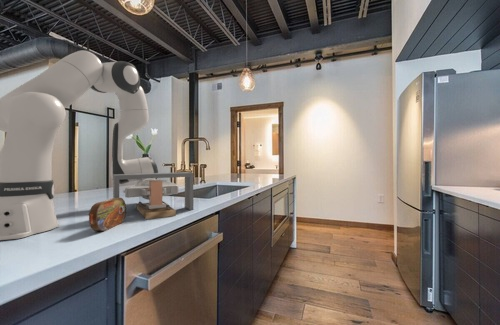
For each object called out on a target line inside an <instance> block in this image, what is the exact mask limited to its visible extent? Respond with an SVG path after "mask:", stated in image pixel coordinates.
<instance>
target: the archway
mask: <svg viewBox="0 0 500 325" xmlns="http://www.w3.org/2000/svg"><path fill="white" fill-rule="evenodd" d="M146 178H157V179H162V178H163V179H166V178H167V179H168V178H184V208H185V209H187V210H189V211H194V173H193V172H190V171H189V172H185V171H184V172H183V171H182V172H181V171H180V172H158V173H146V174H113V180H112V196H113V198H120V184H119V180H122V179H146Z"/></svg>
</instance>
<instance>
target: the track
mask: <svg viewBox="0 0 500 325" xmlns="http://www.w3.org/2000/svg"><path fill="white" fill-rule="evenodd" d="M162 202H163V203H164V204H166V207H164V208H155V209H149V208H147V207H146V203H147V202H141V201H138V203H137V204H136V209H137V211H139V213H140V215H142V217H143V218H144V219H145V220H151V219H160V218H168V217H174V216H176V215H177V212H176V209H174V208H173V207H172V206H170V205H169V204H168V203H167V202H165V201H164V200H162Z"/></svg>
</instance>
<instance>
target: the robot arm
mask: <svg viewBox="0 0 500 325" xmlns="http://www.w3.org/2000/svg"><path fill="white" fill-rule="evenodd" d="M90 89H91V90H93V91H94V92H97V93H100V94H106V93H115V95H116V97H117V99H118V105H119V110H120V112H119V113H120V116H119V119H118V120H117V122H116V123H114V124H113V129H112V141H111V142H112V146H111V147H112V148H111V164H110V171H109V172H110V173H109V174H110V177H111V179H112V181H113V174H146V173H159V170H158V166H157V164H156V162H155V160H153V159H152V158H151V157H149V156H148V157H147V156H146V157H145V156H144V157H140V158H138V157H137V158H132V159H123V157H124V141H125V139H127V138H128V137H129V136H131V135H134V134H135V133H138V132H140V131H142V130H143V129H144V128H146V127H147V125H148V123H149V122H150V117H149V105H148V102H147V98H146V94H145V91H144V88H143V87H142V86H141V78H140V73H139V71H138V70H137V68H136V66H135V65H134V64H132V63H130V62H128V61H123V60H118V61H110V62H101V60H100V58H99V57H98V56H97V55H95V54H94V53H93V52H91V51H88V50H85V49H84V50H77V51H75V52H73V53H70V54H68V55H66V56H64V57H62V58H61V59H59V60H58V61H57V62H55V63H54V64H52V65H51V66H50V67H48V68H46V69H45V70H44V71H43V72H41V73H40V74H38V75H37V76H35V77H32V78H31V79H30V80H28V81H26V82H24V83H23V84H21V85H20V86H18V87H16V88H14V89H13V90H11V91H9V92H8V93H6V94H5V95H3V96H2V97H0V131H2V132H5V133H6V134H5V139H4V141H3V146H2V148H1V149H0V241H4V240H5V241H6V240H8V241H9V240H15V239H16V240H17V239H23V238H26V237H30V236H33V235H35V234H39V233H44V232H47V231H50V230H53V229H56V228H58V227H59V226H60V223H59V221H58V219H57V218H58V217H57V215H56V211H55V205H54V200H53V199H54V197H55V184H54V180H53V179H52V176H53V175H52V174H53V173H52V172H53V171H52V170H53V168H52V165H53V160H52V158H53V150H54V146H55V143H56V140H57V135H58V131H59V130H60V127H61V125H63V123H64V121H65V120H66V116H67V115H66V114H67V112H66V108H67V107H69V106H71V105H73V104H74V103H75V102H76V101H77V100H79V98H81V97H82V96H83V95H84V94H86V93H87V91H89V90H90ZM152 180H158V178H146V179H122V180H119V185H123V184H127V183H129V182H134V181H136V182H135V184H134V185H133V186H132V185H131V186H126V187H125V188H124V189H123V190H122V193H124V197H125V198H137V197H138V198H140V197H141V198H142V199H144V200H148V201H149V195H151V191H150V190H149V181H152ZM160 180H161V179H160ZM161 181H162V197H166V196H170V195H178V193H179V185H178V184H177V183H174V182H171V181H170V180H163V179H162V180H161Z"/></svg>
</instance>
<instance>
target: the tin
mask: <svg viewBox="0 0 500 325" xmlns="http://www.w3.org/2000/svg"><path fill="white" fill-rule="evenodd" d="M88 212H89V213H88V223H89V226H90V228H91V229H92V230H93V231H95V232H106V231H109V230H110V229H112V228H114V227H116V226H119V225H121V224H122V223H123V222H124V220H125V219H126V214H127V204H126V201H125V200H124V198H122V197H119V198H108V199H106V200H102V201H99V202H95V203H94V204H93V205H92V206H91V207H90V208H89V211H88Z"/></svg>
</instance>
